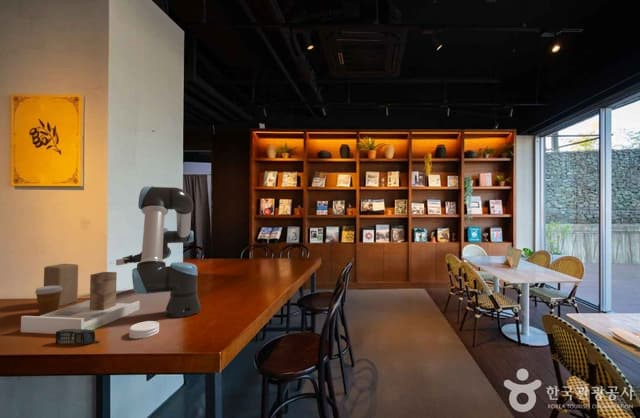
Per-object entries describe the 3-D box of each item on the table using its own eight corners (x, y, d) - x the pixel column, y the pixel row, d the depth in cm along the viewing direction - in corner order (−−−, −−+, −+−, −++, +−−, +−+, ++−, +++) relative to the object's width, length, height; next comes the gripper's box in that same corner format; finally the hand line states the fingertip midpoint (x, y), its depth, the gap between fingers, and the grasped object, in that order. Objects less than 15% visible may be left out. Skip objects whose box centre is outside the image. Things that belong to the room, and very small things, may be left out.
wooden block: (57, 307, 143) (58, 267, 144) (42, 306, 145) (43, 266, 146) (78, 301, 153) (79, 264, 154) (63, 300, 155) (64, 263, 156)
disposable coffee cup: (30, 317, 129) (31, 290, 129) (39, 311, 138) (39, 286, 138) (58, 314, 134) (59, 288, 134) (64, 308, 142) (65, 284, 142)
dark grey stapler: (53, 331, 103) (94, 331, 102) (61, 328, 106) (101, 327, 105) (53, 345, 103) (94, 345, 102) (61, 341, 106) (101, 341, 105)
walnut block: (115, 305, 139) (116, 272, 140) (103, 310, 132) (104, 275, 133) (102, 305, 140) (103, 271, 140) (89, 309, 133) (90, 274, 133)
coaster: (140, 329, 118) (140, 320, 118) (164, 329, 117) (164, 320, 117) (122, 339, 108) (122, 330, 108) (149, 340, 107) (149, 330, 108)
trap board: (90, 307, 144) (91, 295, 144) (139, 309, 142) (139, 296, 142) (20, 332, 114) (21, 316, 114) (81, 335, 111) (81, 319, 111)
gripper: (160, 262, 167) (129, 270, 144) (139, 261, 169) (105, 269, 145) (160, 249, 168) (129, 255, 144) (139, 249, 169) (105, 254, 145)
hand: (117, 262), depth 145 cm, fingers closed
